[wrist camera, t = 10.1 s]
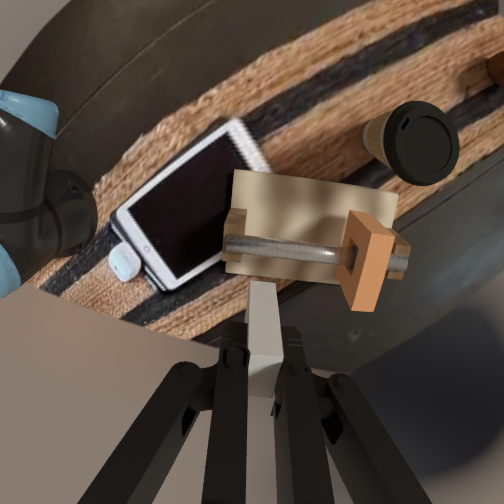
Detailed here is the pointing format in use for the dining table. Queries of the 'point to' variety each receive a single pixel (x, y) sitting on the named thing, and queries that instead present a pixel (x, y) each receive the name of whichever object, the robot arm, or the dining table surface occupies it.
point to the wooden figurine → (497, 68)
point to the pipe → (303, 251)
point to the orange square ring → (365, 260)
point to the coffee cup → (414, 142)
